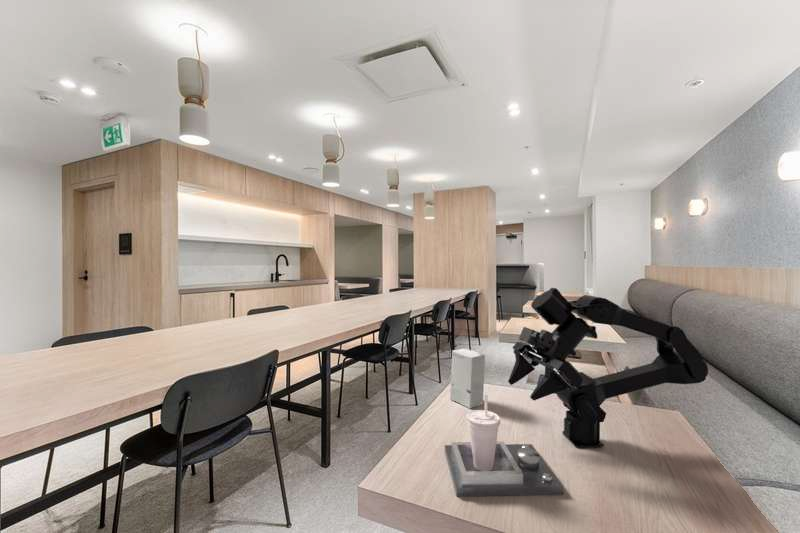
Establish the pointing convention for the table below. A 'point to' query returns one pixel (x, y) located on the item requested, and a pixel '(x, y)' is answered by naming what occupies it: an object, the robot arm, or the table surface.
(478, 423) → the smoothie
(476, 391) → the skincare box
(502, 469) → the grey tray with knobs
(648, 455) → the table surface
